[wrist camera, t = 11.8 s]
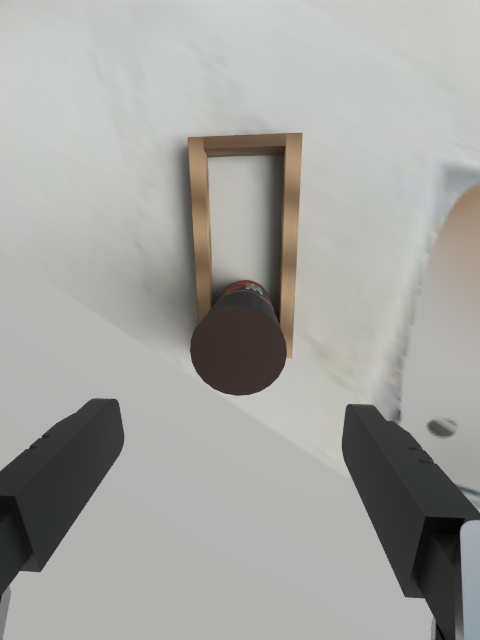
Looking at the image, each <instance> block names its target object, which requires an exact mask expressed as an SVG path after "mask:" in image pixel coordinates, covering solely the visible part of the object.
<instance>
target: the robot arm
mask: <svg viewBox="0 0 480 640" xmlns="http://www.w3.org/2000/svg"><path fill="white" fill-rule="evenodd" d="M123 443H124V431H123V425H122V419H121V413H120V407H119V403H118V401H117V400H116V399H97V398H95V399H91V400H90V401H88V402H87V403H86V404H85V405H84V406H83V407H82V408H81V409H79V410H78V411H77V412H76V413H74V414H72V415H70V416H68V417H67V418H65V419H63V420H61V421H60V422H58V423H56V424H55V425H54V426H53V427H52V428H51V429H49V430H48V431H47V432H46V433H45V434H44V435H42V438H39V439H38V440H37V441H35V442H34V443H33V444H32V445H31V446H30V448H29V449H26V450H25V451H24V452H23V453H21V454H20V455H19V456H18V457H16V458H15V459H14V460H13V461H12V462H11V463H9V464H8V465H7V466H6V467H5V468H4V469H3V470H1V471H0V640H3V634H4V629H5V623H6V618H7V613H8V607H9V602H10V595H11V590H10V586H9V585H10V583H11V582H12V581H13V579H14V578H15V577H16V575H17V574H18V572H19V571H31V572H41V571H42V569H43V567H44V566H45V565H46V563H47V561H48V560H49V559H50V557H51V556H52V554H53V553H54V551H55V550H56V548H57V547H58V545H59V544H60V542H61V541H62V539H63V538H64V536H65V535H66V533H67V532H68V530H69V529H70V527H71V526H72V524H73V523H74V521H75V520H76V519H77V517H78V515H79V514H80V513H81V511H82V510H83V508H84V507H85V505H86V503H87V502H88V501H89V499H90V498H91V496H92V495H93V493H94V492H95V490H96V489H97V487H98V486H99V484H100V483H101V481H102V480H103V478H104V477H105V475H106V474H107V472H108V471H109V469H110V468H111V466H112V465H113V463H114V462H115V460H116V459H117V458H118V456H119V454H120V452H121V450H122V447H123ZM342 452H343V457H344V461H345V463H346V466H347V468H348V470H349V472H350V475H351V477H352V479H353V481H354V484H355V486H356V488H357V490H358V492H359V495H360V497H361V499H362V502H363V504H364V506H365V508H366V511H367V513H368V515H369V517H370V519H371V522H372V524H373V526H374V528H375V531H376V533H377V535H378V538H379V540H380V542H381V544H382V546H383V549H384V551H385V553H386V555H387V558H388V560H389V562H390V564H391V567H392V569H393V571H394V573H395V576H396V578H397V580H398V582H399V584H400V587H401V589H402V591H403V594H404V596H405V597H413V598H425V600H426V602H427V604H428V606H429V608H430V610H431V612H432V614H433V616H434V617H433V620H432V626H431V640H480V513H479V511H478V510H477V509H476V508H475V507H474V506H473V505H472V503H471V502H470V501H469V500H468V499H467V498H466V497H465V496H464V494H463V493H462V492H461V491H460V490H459V489H458V488H457V486H456V485H455V484H454V483H453V482H452V481H451V480H450V479H449V477H448V476H447V475H446V474H445V473H444V472H443V471H442V470H441V468H440V467H439V466H438V465H437V464H434V462H433V459H432V458H431V457H430V456H429V455H428V454H427V452H426V451H423V449H422V447H421V446H420V445H419V444H418V442H417V441H416V440H415V439H414V438H413V437H412V435H410V433H409V432H407V431H405V430H404V429H403V428H401V427H400V426H398V425H397V424H396V423H394V422H393V421H386V420H385V418H384V417H383V416H382V415H381V413H380V412H379V411H378V410H377V408H376V407H375V406H374V405H364V404H348V405H347V407H346V411H345V420H344V428H343V437H342Z"/></svg>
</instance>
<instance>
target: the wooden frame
mask: <svg viewBox="0 0 480 640" xmlns="http://www.w3.org/2000/svg"><path fill="white" fill-rule="evenodd" d="M188 150H189V167H190V184H191V202H192V219H193V236H194V253H195V271H196V288H197V305H198V322H199V323H200V322H201V320H202V319H203V318H204V317H205V315H206V314H207V313H208V312H209V311H210V309H211V308H212V307H213V282H212V258H211V233H210V209H209V184H208V160H207V157H223V156H251V155H278V154H284V155H283V188H282V222H281V255H280V288H279V325H280V327H281V330H282V332H283V335H284V338H285V341H286V348H287V357H286V358H292V347H293V325H294V304H295V282H296V261H297V240H298V218H299V197H300V175H301V154H302V133H284V134H259V135H235V136H210V137H188Z"/></svg>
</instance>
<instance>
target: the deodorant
mask: <svg viewBox="0 0 480 640" xmlns="http://www.w3.org/2000/svg"><path fill="white" fill-rule="evenodd" d="M190 353H191V359H192V363H193V365H194V367H195V369H196V372H197V373H198V375H199V376H200V377H201V378H202V379H203V381H204V382H205V383H207V384H208V385H209V386H211V387H212V388H213V389H215V390H218V391H220V392H223V393H225V394H231V395H236V396H238V395H250V394H253V393H256V392H260V391H262V390H263V389H265V388H266V387H268V386H270V385H271V384H272V383H273V382H274V381H275V380H276V379H277V378H278V377H279V375H280V373H281V371H282V370H283V368H284V365H285V361H286V357H287V348H286V341H285V338H284V335H283V332H282V330H281V327H280V325H279V322H278V319H277V317H276V314H275V312H274V309H273V307H272V304H271V301H270V299H269V296H268V294H267V292H266V291H265V289H264V288H263V287H262V286H261V285H259V284H258V283H256V282H253V281H248V280H243V281H238V282H236V283H233V284H232V285H231V286H229V287H228V288H227V290H226V291H225V292H224V293H223V295H222V296H221V297H220V298H219V300H218V301H217V302H216V303H215V304H214V306H213V307H212V308H211V309H210V311H209V312H208V313H207V314H206V315H205V317H204V318H203V319H202V320H201V322H200V323H199V324H198V326H197V327H196V329H195V331H194V333H193V336H192V338H191V346H190Z"/></svg>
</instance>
